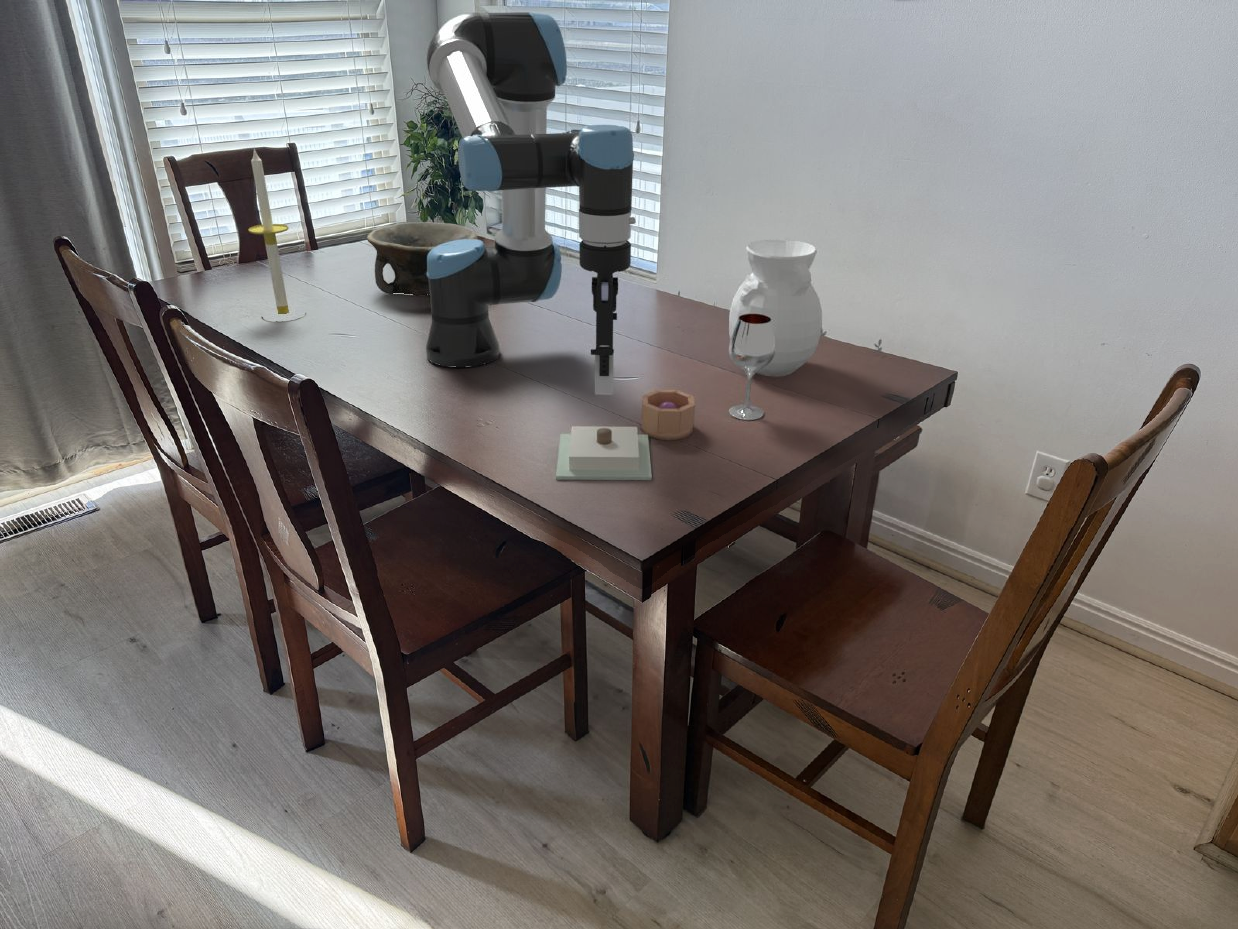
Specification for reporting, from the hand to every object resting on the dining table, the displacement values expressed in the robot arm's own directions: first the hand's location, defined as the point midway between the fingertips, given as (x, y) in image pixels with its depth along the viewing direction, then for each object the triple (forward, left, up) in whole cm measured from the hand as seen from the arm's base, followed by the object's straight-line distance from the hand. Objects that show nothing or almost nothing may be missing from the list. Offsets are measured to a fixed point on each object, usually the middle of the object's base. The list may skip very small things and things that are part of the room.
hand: (604, 376), depth 135 cm
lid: (0, 0, -14) cm, 14 cm away
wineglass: (+26, +18, -15) cm, 35 cm away
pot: (+11, +11, -14) cm, 21 cm away
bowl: (-46, +92, -15) cm, 104 cm away
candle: (-76, +71, -15) cm, 105 cm away
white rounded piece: (+34, +40, -15) cm, 54 cm away
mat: (0, 0, -14) cm, 14 cm away
